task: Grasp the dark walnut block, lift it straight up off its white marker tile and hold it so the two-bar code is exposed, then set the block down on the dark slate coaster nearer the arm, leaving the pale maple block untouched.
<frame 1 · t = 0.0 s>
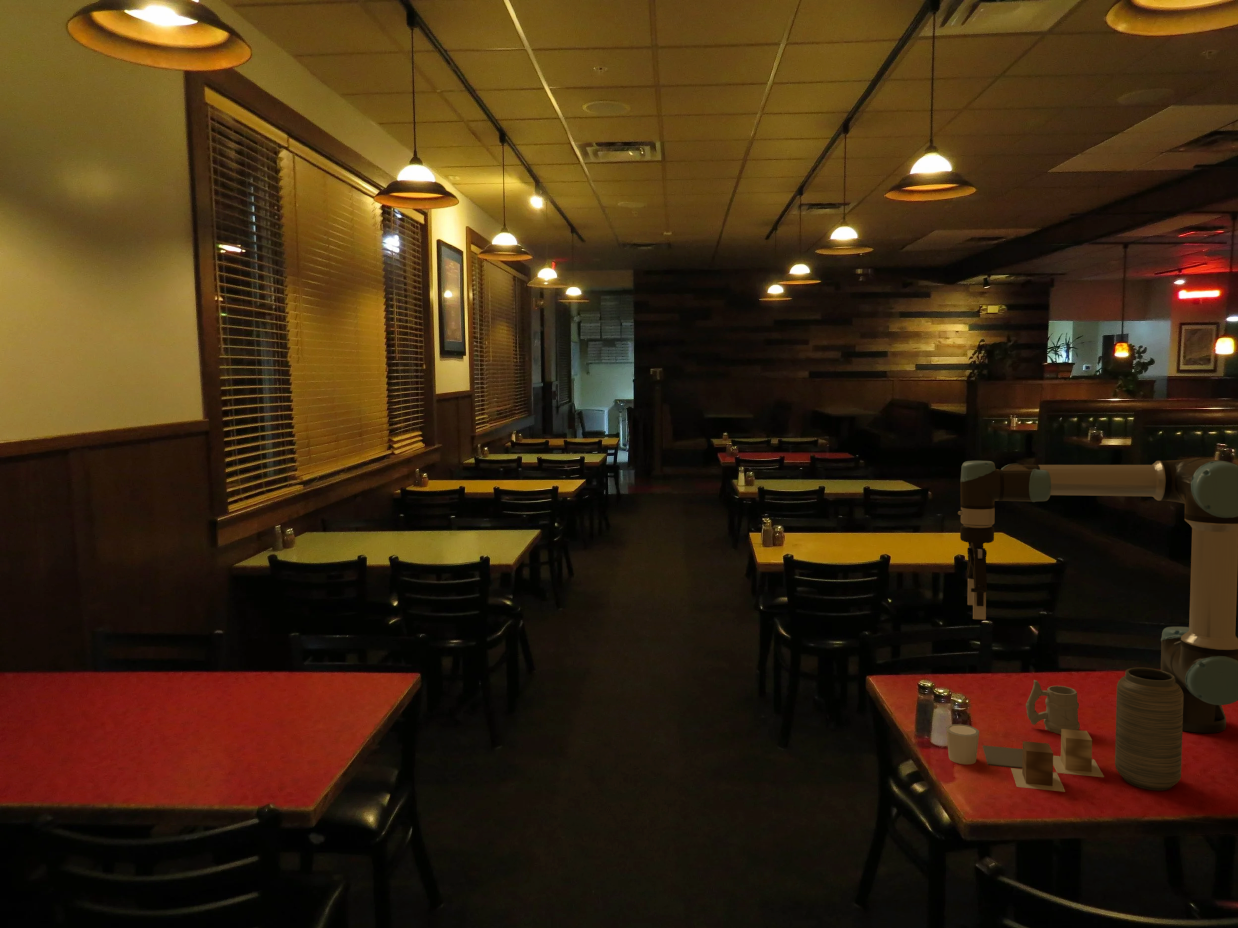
hand: (976, 611, 207), 28 cm above the table, fingers open, 13 cm apart
code tile maple: (1075, 767, 184), on the table
mug: (1052, 730, 205), on the table
slate coaster: (1009, 758, 189), on the table
shot glass: (962, 760, 189), on the table
walnut block: (1037, 779, 178), resting on white marker tile
white marker tile: (1037, 780, 178), on the table
maple block: (1075, 765, 184), resting on code tile maple
vase: (1147, 782, 177), on the table
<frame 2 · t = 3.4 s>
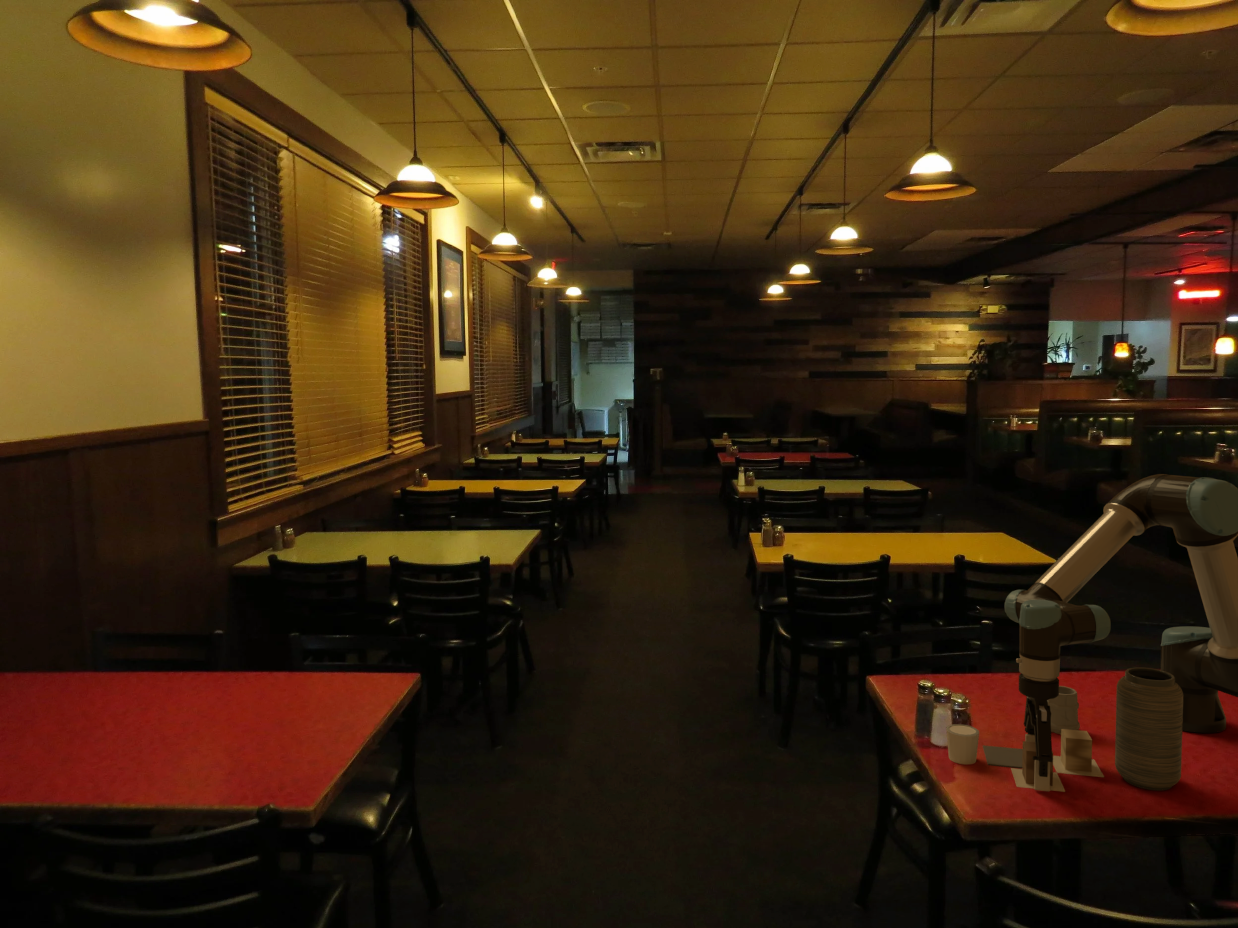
hand: (1036, 776, 179), 1 cm above the table, fingers open, 11 cm apart
nothing on the table moved.
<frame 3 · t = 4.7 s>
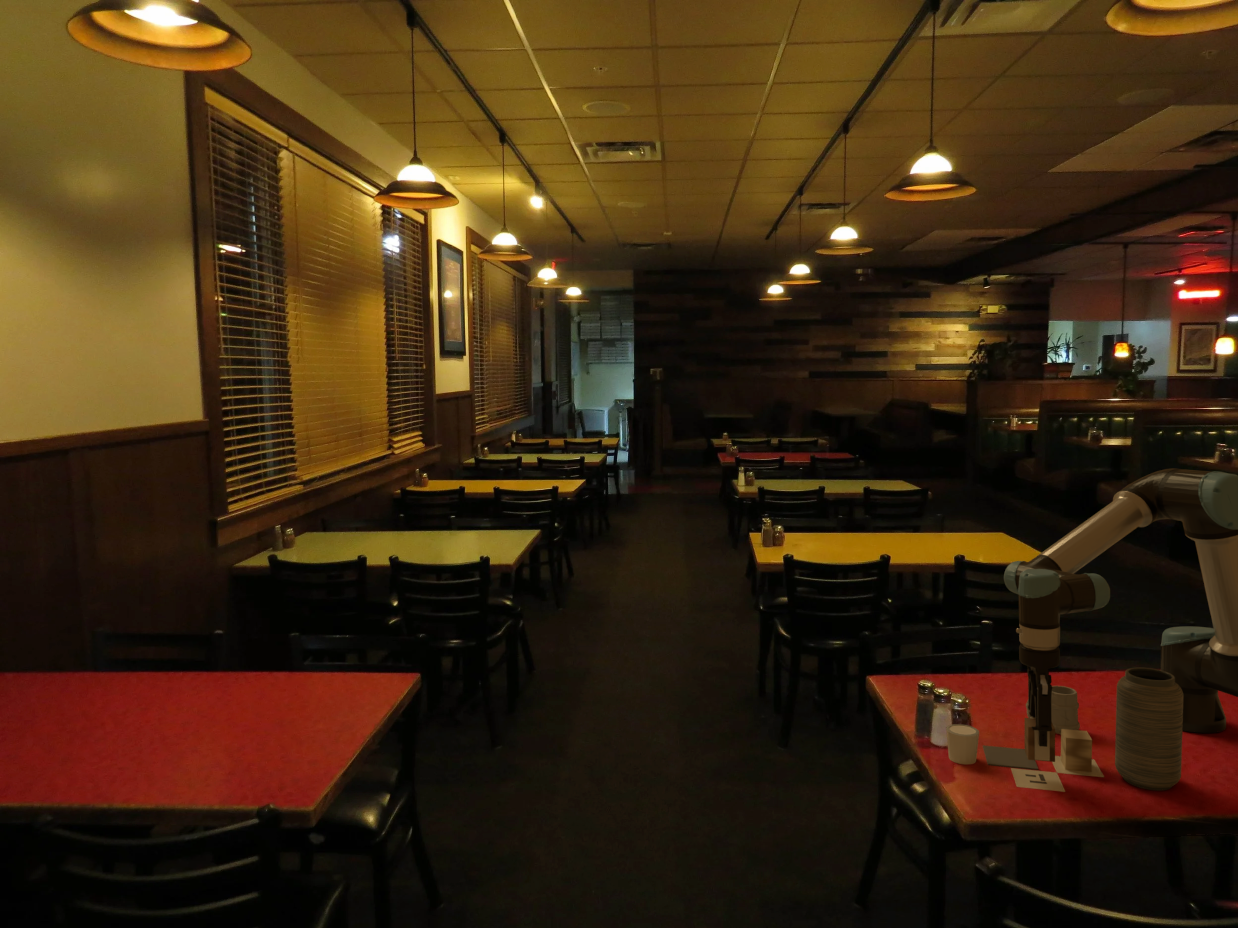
hand: (1039, 753, 178), 6 cm above the table, fingers closed on walnut block, 5 cm apart
walnut block: (1039, 755, 178), point 5 cm above the table, touching gripper
everything else where it was.
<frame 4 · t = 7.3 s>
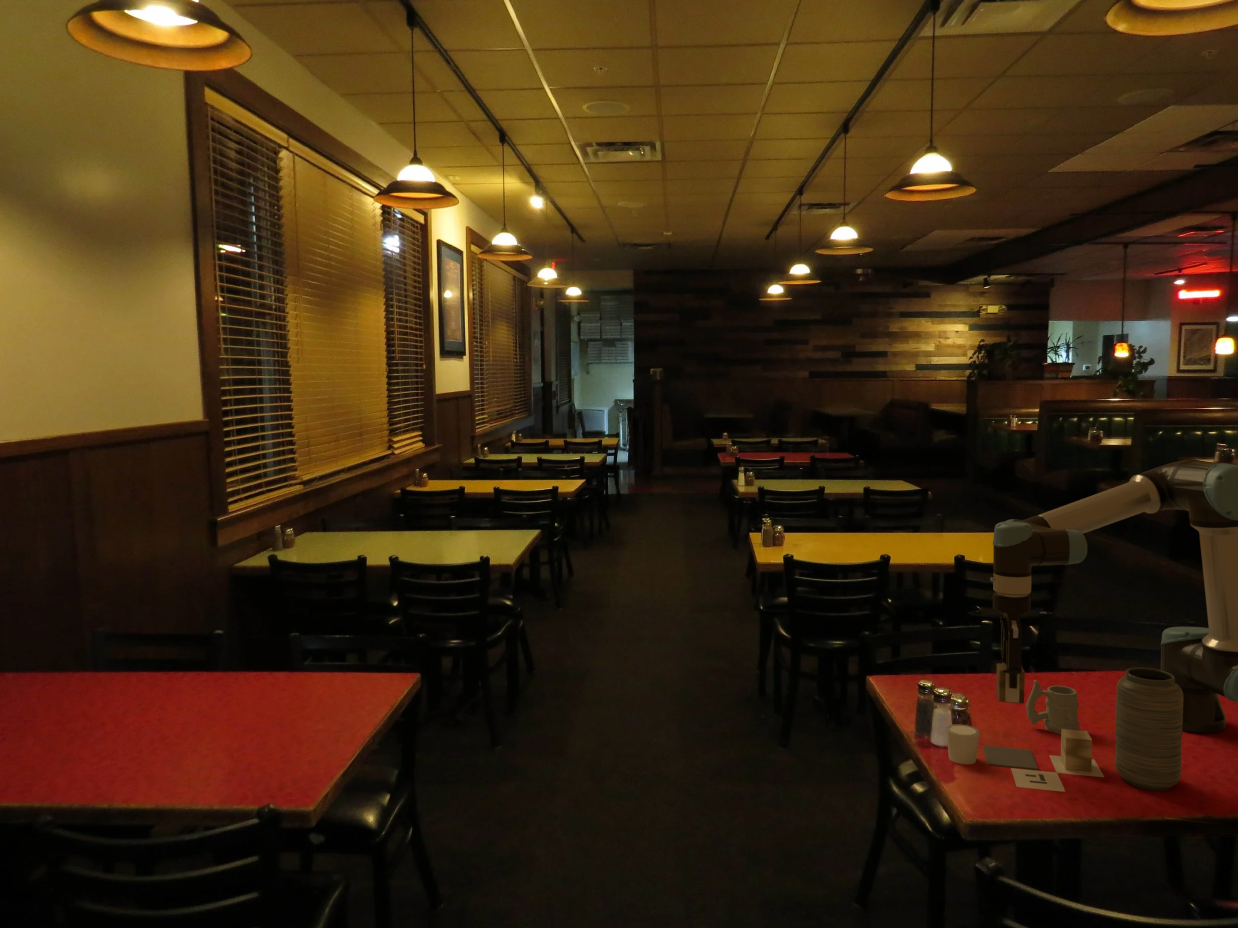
hand: (1010, 696, 188), 14 cm above the table, fingers closed on walnut block, 5 cm apart
walnut block: (1009, 698, 188), point 14 cm above the table, touching gripper
everything else where it was.
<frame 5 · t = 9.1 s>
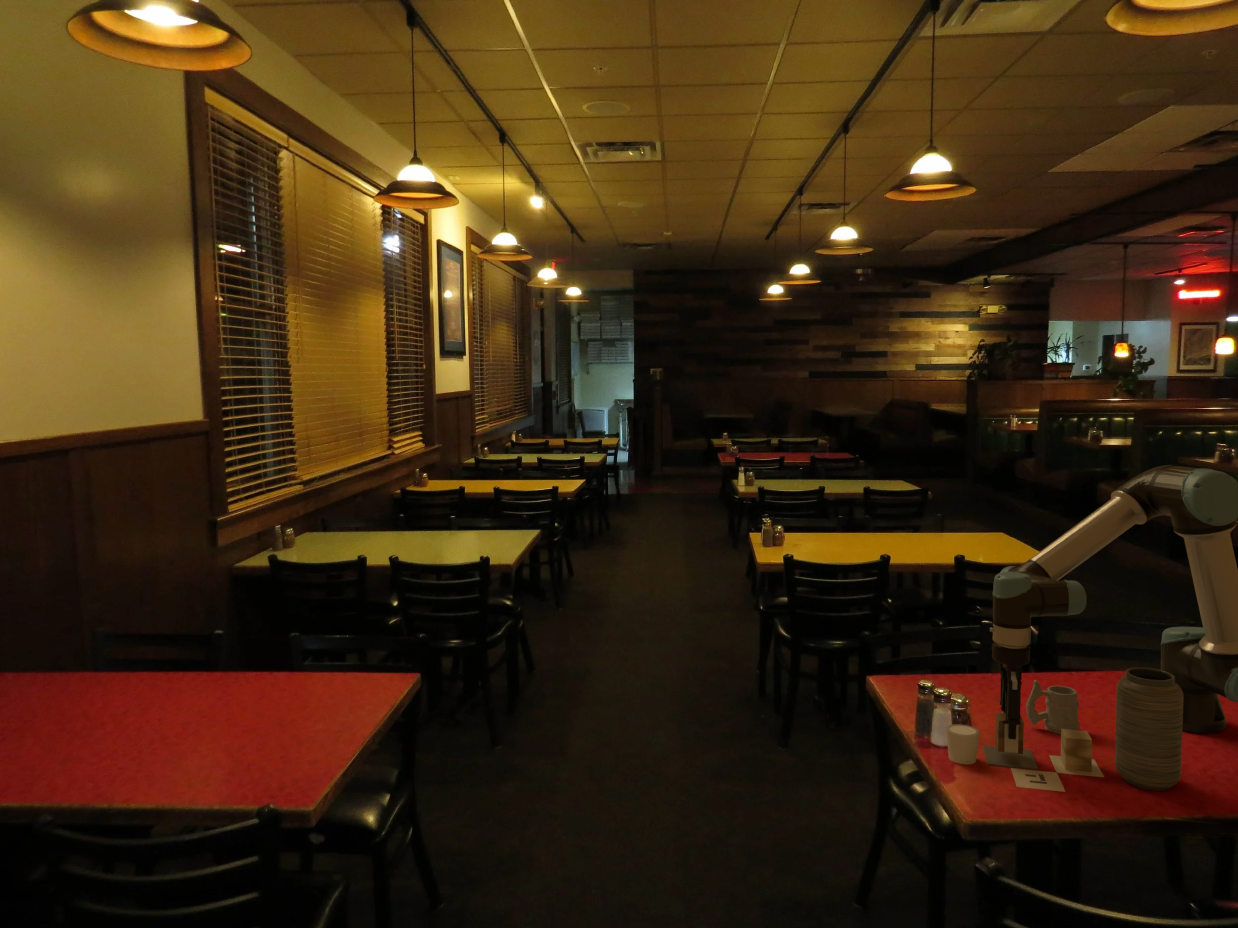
hand: (1009, 746, 189), 3 cm above the table, fingers closed on walnut block, 5 cm apart
walnut block: (1008, 748, 189), point 2 cm above the table, touching gripper
everything else where it was.
when the fingers open (1 cm above the table, at t = 9.9 s): walnut block stays where it is, resting on slate coaster.
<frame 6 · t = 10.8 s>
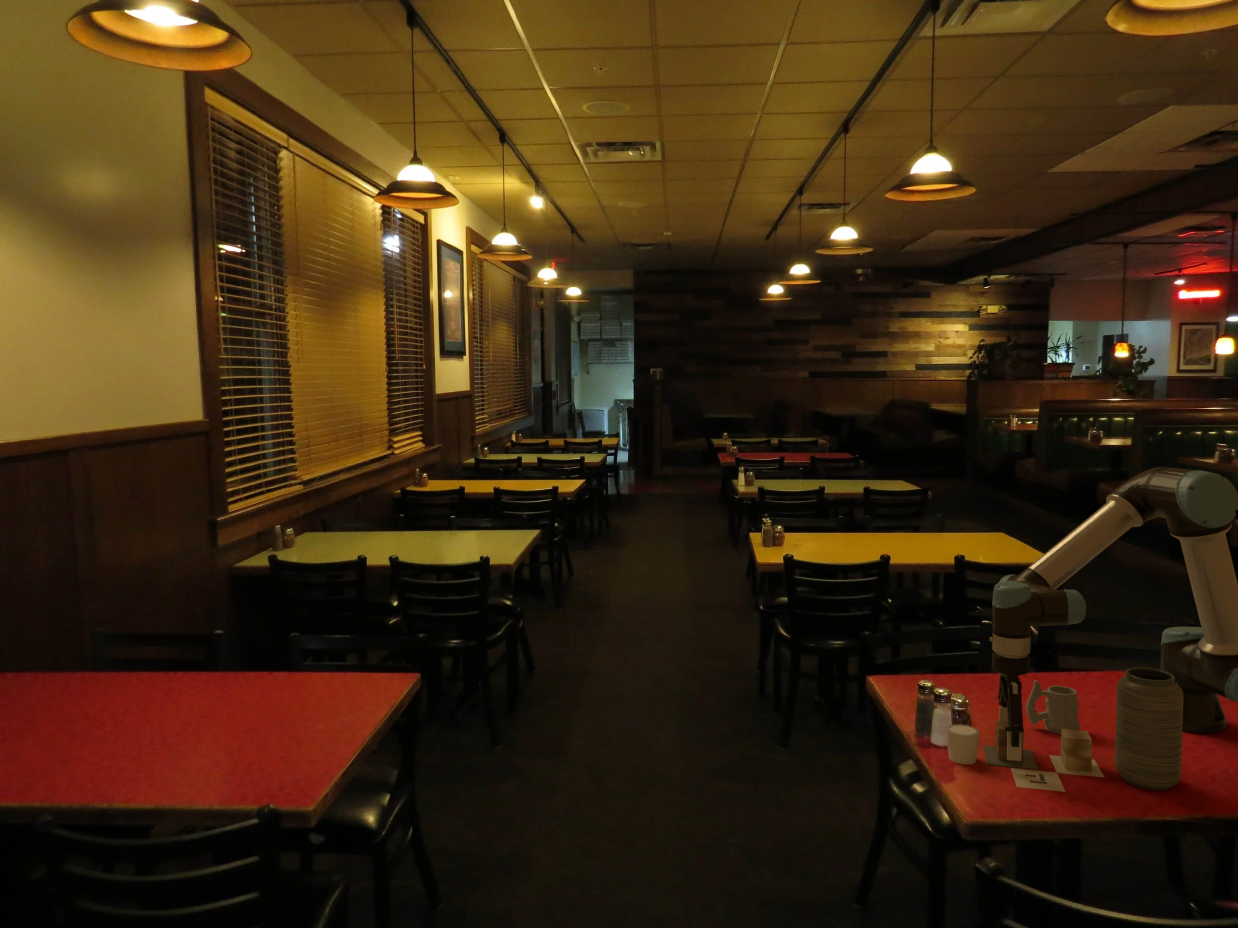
hand: (1009, 747, 189), 3 cm above the table, fingers open, 13 cm apart
walnut block: (1009, 756, 189), point 1 cm above the table, touching slate coaster
everything else where it was.
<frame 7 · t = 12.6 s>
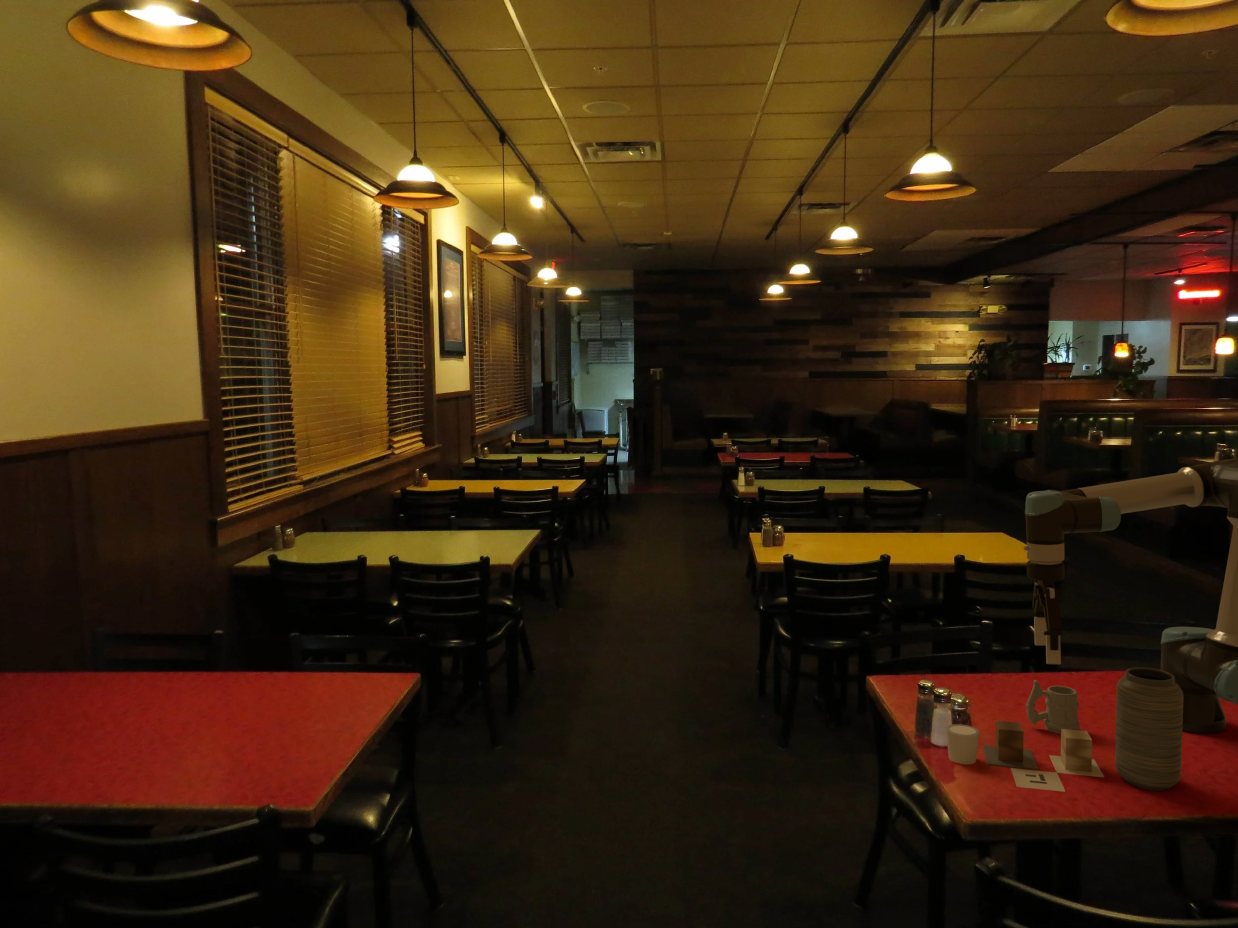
hand: (1047, 654, 192), 22 cm above the table, fingers open, 13 cm apart
nothing on the table moved.
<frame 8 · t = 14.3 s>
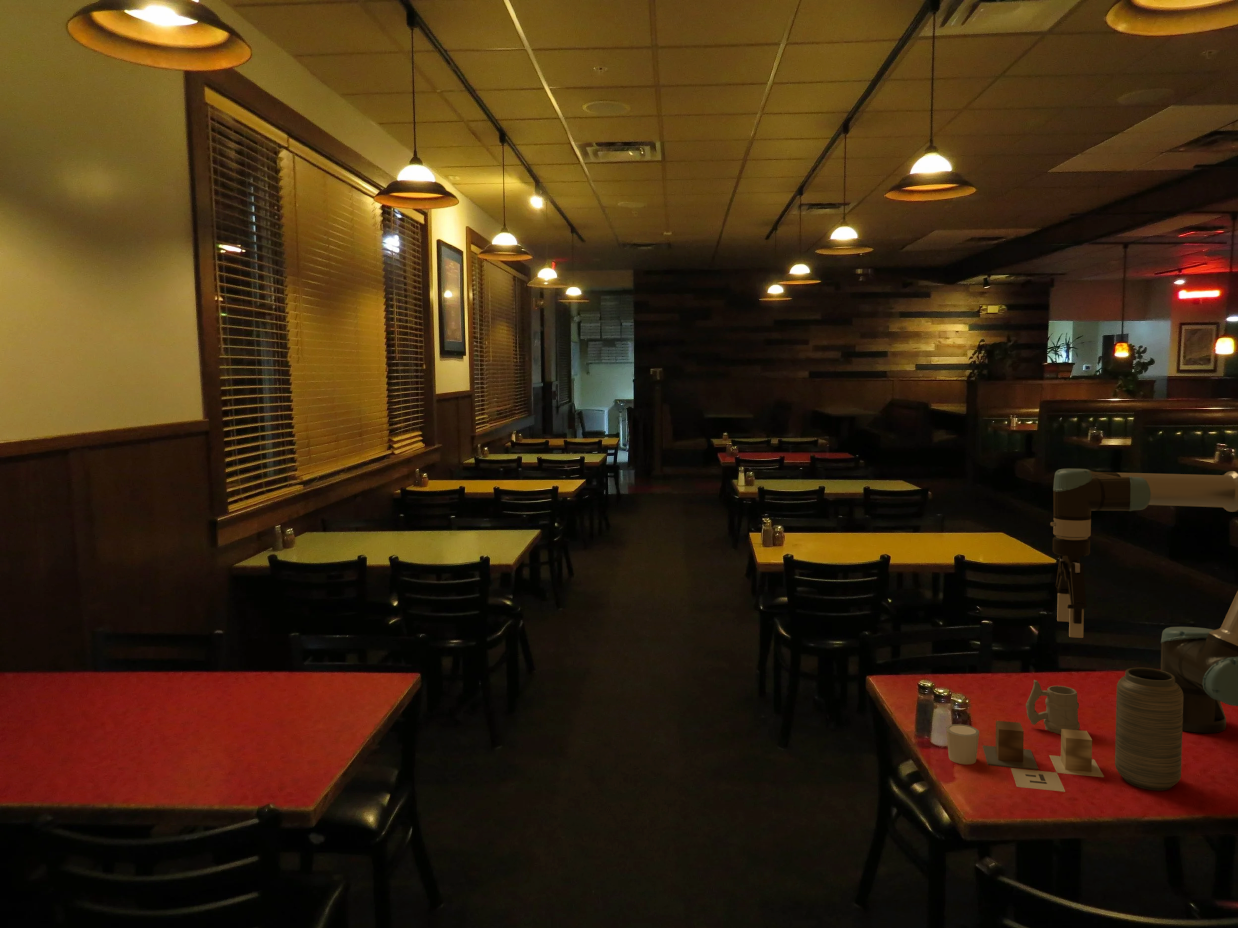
hand: (1069, 628, 195), 27 cm above the table, fingers open, 13 cm apart
nothing on the table moved.
at the end: walnut block inside the target area on the slate coaster (0.1 cm from its centre), point 0.6 cm above the slate coaster's base; walnut block tilted 0°; walnut block touching slate coaster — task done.
